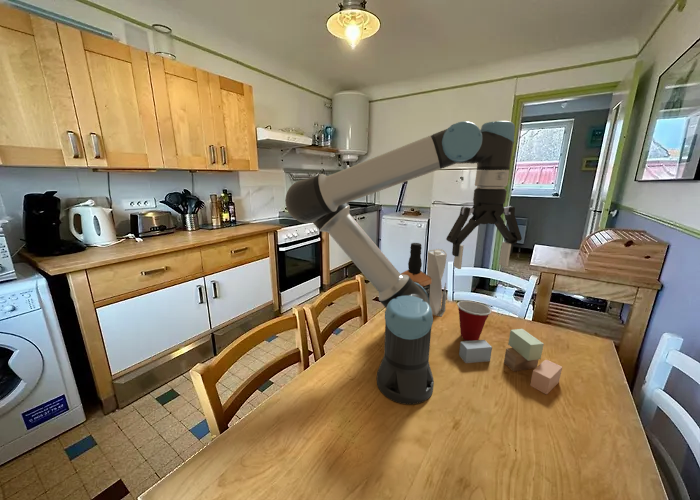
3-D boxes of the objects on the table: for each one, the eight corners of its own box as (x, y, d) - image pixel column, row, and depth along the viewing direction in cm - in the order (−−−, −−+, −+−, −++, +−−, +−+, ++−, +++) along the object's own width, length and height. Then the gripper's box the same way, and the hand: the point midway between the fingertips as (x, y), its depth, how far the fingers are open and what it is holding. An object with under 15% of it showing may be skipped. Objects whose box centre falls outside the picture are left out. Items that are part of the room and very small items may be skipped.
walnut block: (513, 371, 82) (516, 356, 81) (503, 363, 86) (506, 348, 85) (536, 367, 84) (539, 353, 83) (526, 359, 88) (528, 345, 87)
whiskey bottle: (392, 324, 108) (395, 242, 100) (409, 316, 114) (414, 239, 106) (413, 336, 100) (419, 248, 92) (430, 327, 106) (437, 244, 98)
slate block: (465, 363, 86) (467, 349, 85) (458, 355, 90) (460, 341, 89) (490, 361, 87) (492, 347, 86) (482, 353, 91) (484, 339, 90)
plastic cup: (494, 341, 97) (499, 309, 94) (470, 349, 93) (475, 316, 90) (469, 326, 107) (473, 297, 103) (447, 333, 102) (450, 302, 99)
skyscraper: (440, 319, 113) (446, 251, 105) (420, 314, 117) (425, 248, 109) (445, 310, 120) (451, 246, 112) (426, 306, 124) (431, 243, 116)
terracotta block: (546, 395, 74) (550, 378, 73) (530, 386, 77) (533, 370, 76) (558, 382, 78) (562, 366, 77) (542, 374, 81) (545, 359, 80)
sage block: (540, 359, 80) (543, 343, 79) (528, 360, 79) (530, 345, 78) (519, 343, 88) (522, 328, 86) (508, 344, 87) (510, 329, 86)
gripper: (451, 188, 68) (443, 272, 73) (546, 188, 71) (531, 268, 76) (437, 187, 75) (431, 264, 80) (524, 186, 78) (512, 260, 83)
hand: (480, 266), depth 78 cm, fingers open, 13 cm apart
